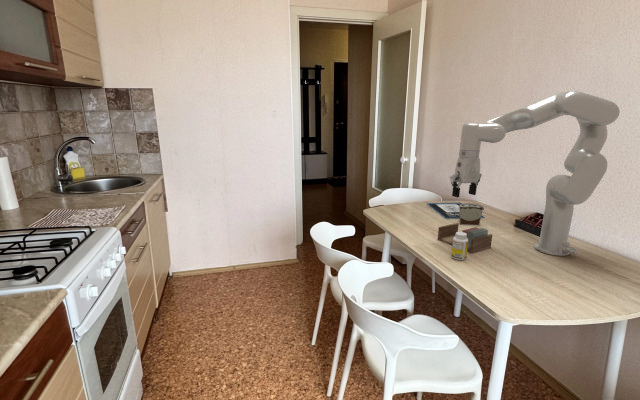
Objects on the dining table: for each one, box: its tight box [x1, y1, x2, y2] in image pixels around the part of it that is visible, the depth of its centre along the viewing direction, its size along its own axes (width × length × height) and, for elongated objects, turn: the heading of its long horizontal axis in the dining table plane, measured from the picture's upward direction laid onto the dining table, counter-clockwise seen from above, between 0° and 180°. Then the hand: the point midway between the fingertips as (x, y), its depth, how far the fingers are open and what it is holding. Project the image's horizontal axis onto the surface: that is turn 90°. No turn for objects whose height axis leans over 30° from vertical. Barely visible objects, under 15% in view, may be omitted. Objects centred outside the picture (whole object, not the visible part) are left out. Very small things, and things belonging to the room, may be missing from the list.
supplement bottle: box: [451, 231, 468, 261], centre depth 137 cm, size 6×6×10 cm
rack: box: [437, 222, 493, 255], centre depth 151 cm, size 18×12×8 cm, turn 30°
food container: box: [458, 202, 485, 226], centre depth 179 cm, size 12×6×10 cm, turn 84°
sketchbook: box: [426, 201, 485, 220], centre depth 202 cm, size 22×30×2 cm
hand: (463, 195), depth 145 cm, fingers open, 9 cm apart
